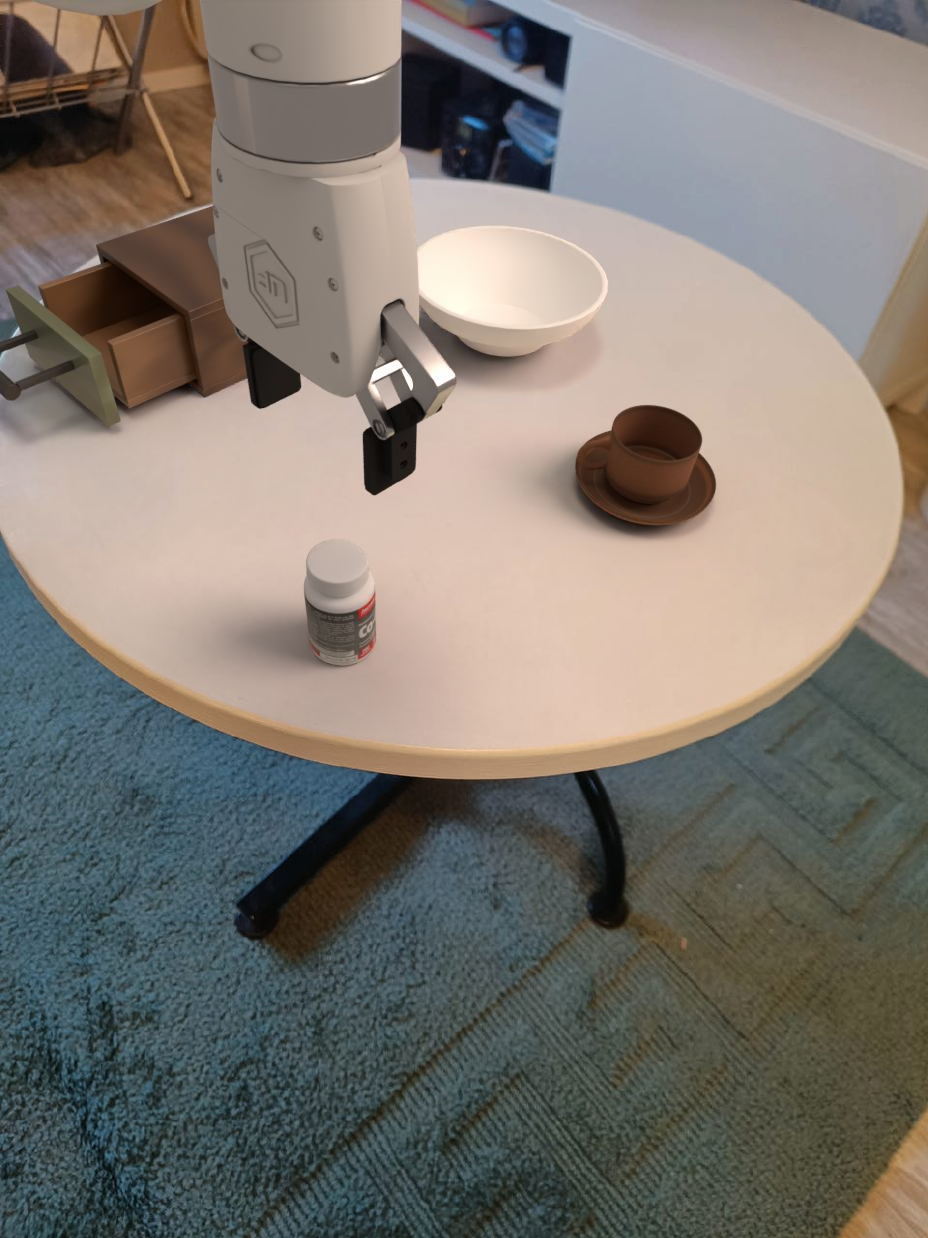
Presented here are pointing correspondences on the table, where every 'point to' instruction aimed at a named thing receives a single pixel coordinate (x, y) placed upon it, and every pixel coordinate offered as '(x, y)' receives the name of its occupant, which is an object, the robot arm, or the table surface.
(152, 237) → the cabinet
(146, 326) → the drawer
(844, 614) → the table surface
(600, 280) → the bowl
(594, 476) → the cup and saucer
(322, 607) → the pill bottle
